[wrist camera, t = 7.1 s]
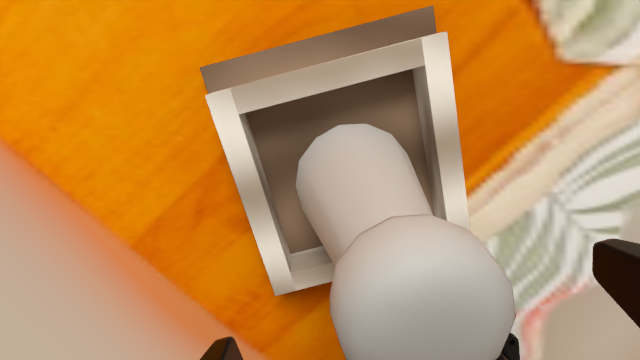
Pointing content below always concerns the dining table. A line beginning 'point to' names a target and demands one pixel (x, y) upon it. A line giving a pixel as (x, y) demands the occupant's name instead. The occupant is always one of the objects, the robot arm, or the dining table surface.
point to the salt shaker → (398, 256)
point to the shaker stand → (326, 113)
